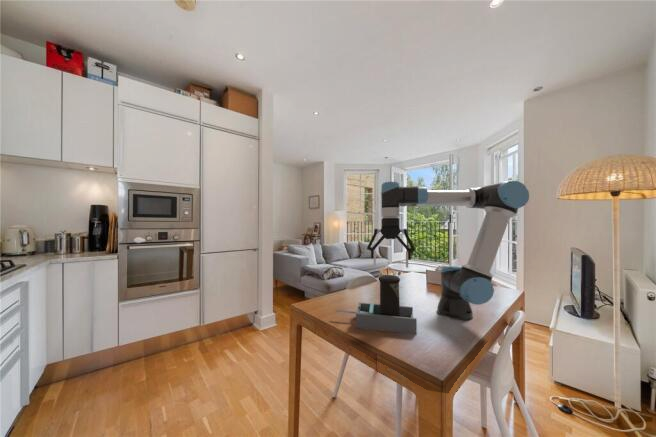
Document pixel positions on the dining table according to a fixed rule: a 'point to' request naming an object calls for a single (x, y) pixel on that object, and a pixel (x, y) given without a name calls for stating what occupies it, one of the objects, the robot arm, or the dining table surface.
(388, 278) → the container
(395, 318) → the grey shallow rectangular box
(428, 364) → the dining table surface
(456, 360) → the dining table surface
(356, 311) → the pusher
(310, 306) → the dining table surface
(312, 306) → the dining table surface
